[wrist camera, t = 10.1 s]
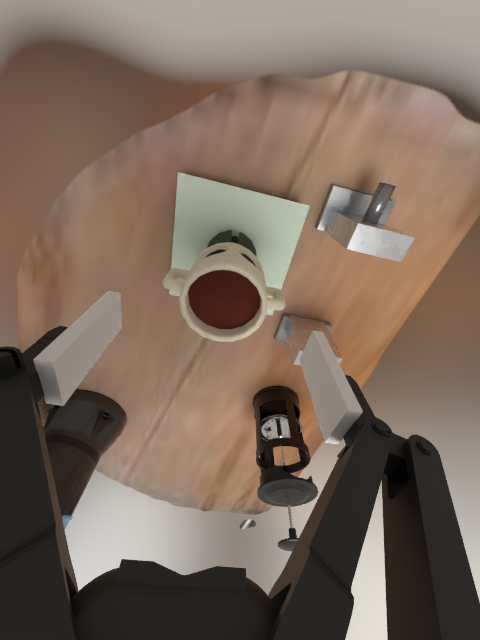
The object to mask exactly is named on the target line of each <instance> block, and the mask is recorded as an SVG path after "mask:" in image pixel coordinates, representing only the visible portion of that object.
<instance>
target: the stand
mask: <svg viewBox="0 0 480 640" xmlns="http://www.w3.org/2000/svg"><path fill="white" fill-rule="evenodd" d="M309 207H310V206H309V205H306V204H302V203H298V202H294V201H290V200H286V199H283V198H279V197H275V196H271V195H267V194H263V193H259V192H255V191H251V190H247V189H244V188H240V187H236V186H232V185H228V184H224V183H220V182H216V181H212V180H208V179H204V178H201V177H197V176H193V175H189V174H185V173H181V172H178V180H177V194H176V207H175V221H174V234H173V248H172V261H171V269H172V268H179V269H184V270H189V271H190V270H191V268H192V266H193V264H194V262H195V260H196V258H197V257H198V255H199V254H200V253H201V252H202V251H204V250H205V249H206V248H207V246H208V243H209V241H210V240H211V239H212V238H213V237H214V236H216V235H217V234H218V233H220V232H224V231H227V230H232V236H236V237H238V238H239V233H240V232H241V233H243V234H245V235H246V236H247V237H248V238H249V239H250V240H252V243H253V245H254V247H255V249H256V257H257V258H258V260H259V261H260V263H261V264H262V267H263V271H264V276H265V282H266V286H268V287H273V288H277V289H280V290H281V288H282V285H283V282H284V280H285V277H286V274H287V271H288V268H289V265H290V262H291V259H292V256H293V254H294V251H295V248H296V245H297V242H298V239H299V236H300V233H301V230H302V228H303V225H304V222H305V219H306V216H307V213H308V210H309ZM177 280H181V279H177ZM182 281H185V280H182ZM180 294H181V292H180V291H175V290H170V289H169V295H174V296H179V297H180ZM268 298H272V297H268ZM273 311H274V309H269V308H267V315H272V314H273Z"/></svg>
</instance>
